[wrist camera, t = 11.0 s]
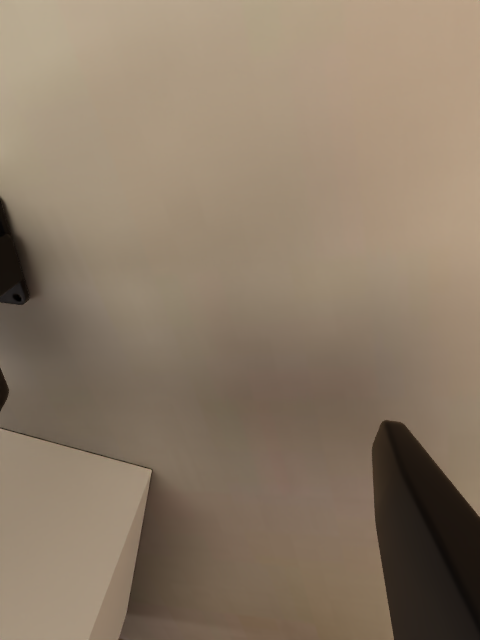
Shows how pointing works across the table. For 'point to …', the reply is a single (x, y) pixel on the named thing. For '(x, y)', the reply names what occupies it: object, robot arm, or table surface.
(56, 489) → the red-lidded white box
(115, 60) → the table surface
